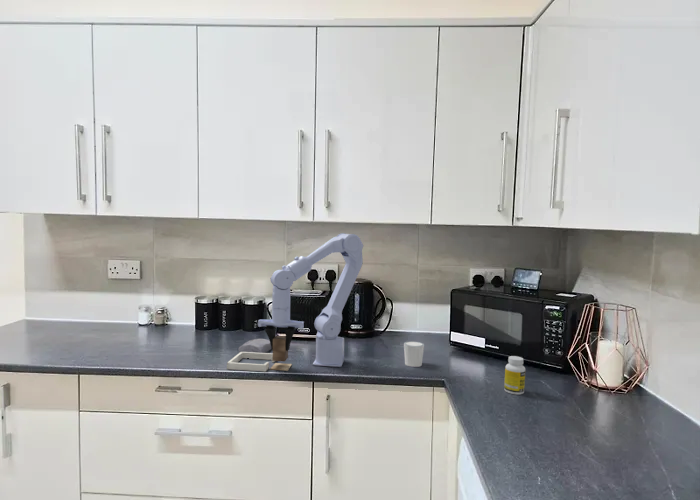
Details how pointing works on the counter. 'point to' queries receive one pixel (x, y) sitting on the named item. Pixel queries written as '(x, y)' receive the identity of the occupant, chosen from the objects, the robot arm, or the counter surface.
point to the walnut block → (279, 348)
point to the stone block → (256, 346)
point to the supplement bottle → (514, 376)
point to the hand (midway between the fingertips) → (280, 349)
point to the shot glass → (413, 353)
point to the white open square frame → (247, 366)
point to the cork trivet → (281, 366)
